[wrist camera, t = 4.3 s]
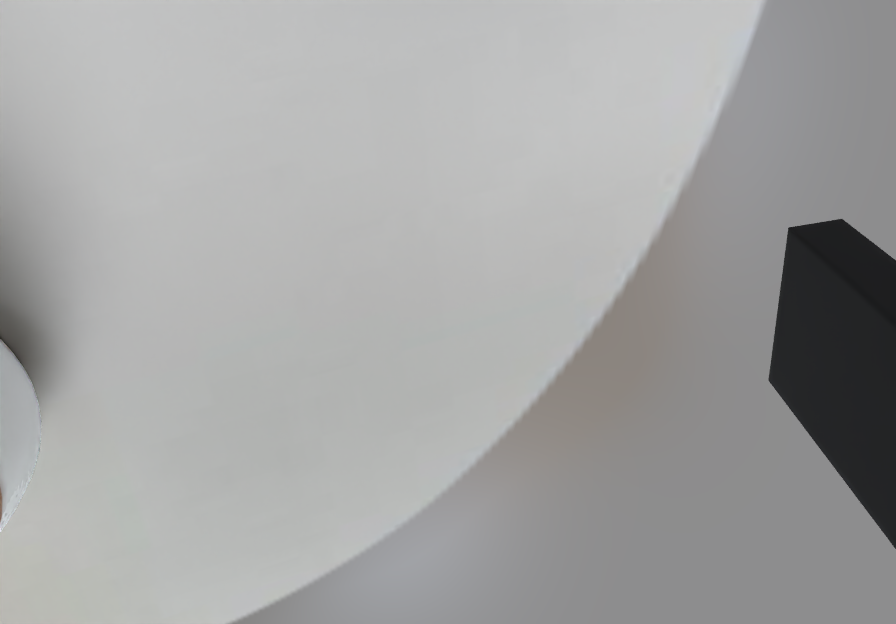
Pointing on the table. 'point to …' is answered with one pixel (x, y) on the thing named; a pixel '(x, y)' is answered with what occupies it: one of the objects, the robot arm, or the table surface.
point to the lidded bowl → (16, 432)
